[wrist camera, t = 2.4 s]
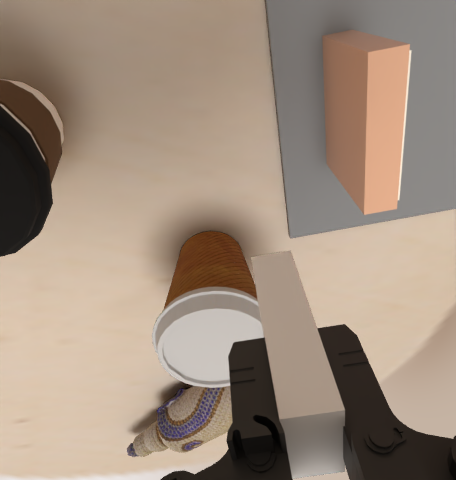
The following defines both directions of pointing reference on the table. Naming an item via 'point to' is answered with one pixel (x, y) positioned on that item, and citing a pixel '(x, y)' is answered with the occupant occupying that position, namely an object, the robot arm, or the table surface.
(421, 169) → the mat
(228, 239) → the disposable coffee cup
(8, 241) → the coffee cup
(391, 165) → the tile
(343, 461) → the robot arm
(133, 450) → the decorative bottle
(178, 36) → the table surface
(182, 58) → the table surface
